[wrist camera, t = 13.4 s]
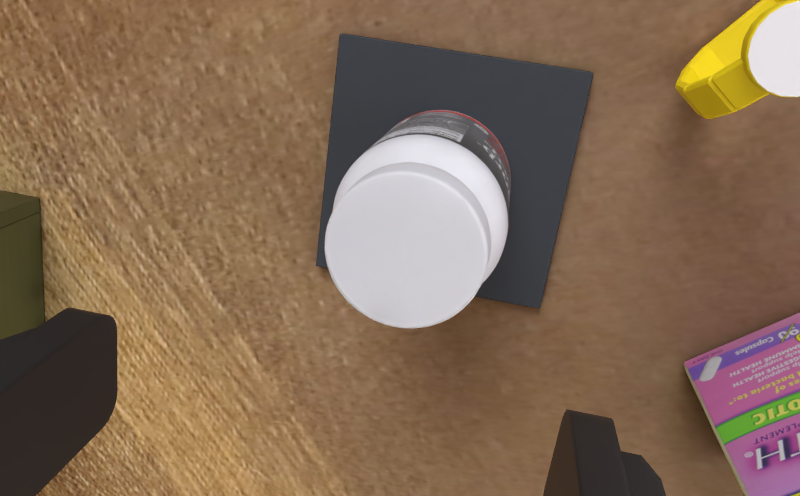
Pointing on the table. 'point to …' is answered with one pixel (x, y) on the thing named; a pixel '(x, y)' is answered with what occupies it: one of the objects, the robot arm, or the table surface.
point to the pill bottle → (420, 220)
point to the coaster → (485, 102)
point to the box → (755, 405)
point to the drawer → (20, 264)
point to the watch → (746, 61)
